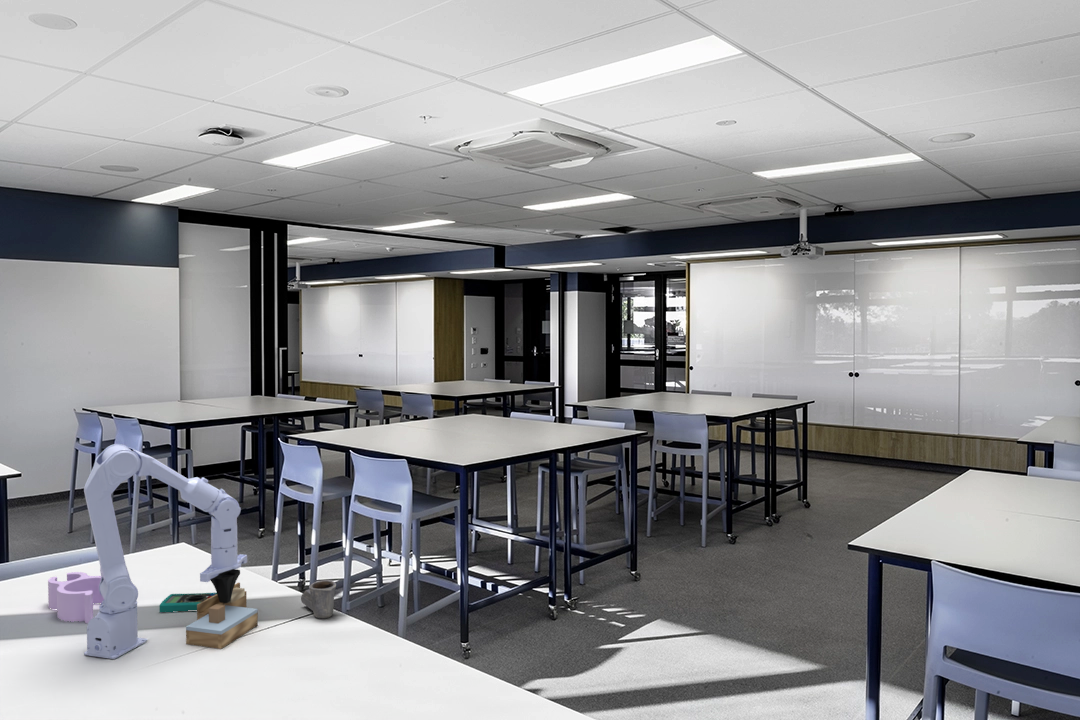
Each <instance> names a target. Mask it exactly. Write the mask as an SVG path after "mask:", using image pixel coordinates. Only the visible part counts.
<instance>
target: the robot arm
mask: <svg viewBox="0 0 1080 720" xmlns="http://www.w3.org/2000/svg"><path fill="white" fill-rule="evenodd" d="M134 475H136V477H147V476H151V477H153V478H154V479H156V480H159V481H161V482H162V483H163V484H166V485H167V486H170V487H172V488H174V489H175V490H178V491H179V493H180V498H181V500H183V501H185V502H187V503H189V504H191V506H194V507H196V508H197V509H199V510H201V511H203V512H205V513H208V514H209V515H211V517H210V518H211V521H210V523H211V525H210V554H211V555H210V560H211V563H210V564H209V566H208V567H206V568H205V570H204V571H202V572H200V573H199V582H201V583H209V582H211V583H212V585H213V587H214V590H215V591H216V592H215V593H217V595H218V598H219V602H220V603H228V602H230V600H231V596H232V592H233V588H234V585H235V584H237V581H238V579H239V577H240V574H241V570H240V568H242V564H243V565H244V564H246V563H248V555H247V554H241V553H240V554H238V523H237V522H238V519H237V518H238V517H239V516H240V514H241V510H242V509H241V508H242V507H240V504H239V502H238V500H237V499H236V498H234V497H232V496H231V495H229V494H228V493H227V492H226V490H224V489H223V488H220V489H218V488H217V487H216V486H213V485H212V484H210V483H209V479H207V478H205V477H201V478H200V477H198V476H196V477H191V478H187V477H185V476H184V475H182V474H181V473H179V472H177V471H176V470H174V469H173V468H171V467H169V466H168V465H166V464H164V463H163V462H161V461H159V460H158V459H157V458H155V457H153V456H150V455H149V454H146V453H143V452H142V451H139V450H136V449H132V450H131V448H130V447H128V446H127V445H125V444H121V443H115V444H111V445H109V446H107V447H106V448H104V450H102V451H101V452H100V453H99V455H97V456H96V458H95V460H94V463H93V466H92V468H91V471H90V473H89V475H88V478H87V479H86V482H85V484H84V486H83V492H84V498H85V502H86V507H87V511H88V516H89V519H90V524H91V525H90V526H91V529H92V535H93V539H94V542H95V548H96V553H97V557H98V558H97V559H98V562H99V568H100V569H99V572H100V576H101V581H100V584H99V592H100V594H101V595H102V596H103V598H104V600H103V601H102V603H101V604H99V607H98V611H97V614H96V615H95V616H93V618H92V619H91V620H90V621H89V623H87V626H86V651H84V652H83V655H84V656H90V657H97V658H102V659H103V658H104V659H112V660H115V659H118V658H119V657H122V656H123V655H125V654H126V653H128V652H130V651H132V650H134V649H135V648H137V647H140V646H141V645H143V644H145V643H146V642H147V641H148V638H144V637H139V636H138V635H139V633H138V631H139V629H138V597H139V591H138V588H137V586H136V585H135V584H134V583H133V582H132V579H131V576H130V573H129V570H128V567H127V564H126V559H125V555H124V550H123V545H122V541H121V537H120V531H119V526H118V521H117V517H116V513H115V507H114V502H113V498H112V494H113V493H114V492H115V490H116V489H118V487H119V486H120V485H121V484H122V483H123V482H125V481H126V480H128V479H129V478H131V477H132V476H134Z"/></svg>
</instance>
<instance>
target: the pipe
mask: <svg viewBox="0 0 1080 720" xmlns="http://www.w3.org/2000/svg"><path fill="white" fill-rule="evenodd" d="M336 587H337V583H336V582H335V581H333V580H331V579H324V580H318V581H314V582H313V583H311V584H310V585H308V589H305V590H304V592H303V593H302V594H301V596H300V600H301V604H303V605H305V606H306V607H307V608H309V609H310V610H311V611H313V616H314V617H315V618H316V619H317V618H318V619H328V618H330V617H332V616H333V614H334V605H335V594H336Z"/></svg>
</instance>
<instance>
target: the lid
mask: <svg viewBox="0 0 1080 720" xmlns="http://www.w3.org/2000/svg"><path fill="white" fill-rule="evenodd" d="M257 612H258V608H252V607H247V608H246V607H237V606H229V605H217V604H216V605H214V606H212V607H210V608H209V614H207V615H206V616H204V617H202V618H200V619H198V620H197V619H196V620H195V621H193V622H191V623H190V624H189V625H186V626H185V631H186V630H189V631H197V632H205V633H213V634H220V635H221V634H223V633H225V632H226V631H228V630H230V629H231V628H233V627H234V626H236V625H238V624H239V623H241V622H243V621H244V620H246V619H247V618H249V617H251V616H252V615H254V614H255V613H257Z"/></svg>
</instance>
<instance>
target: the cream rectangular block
mask: <svg viewBox="0 0 1080 720" xmlns="http://www.w3.org/2000/svg"><path fill="white" fill-rule="evenodd" d="M245 591H246V590H245V588H244V587H240V588H234V589H233V592H232V596H231V600H230V602H228V603H232V602H234V601H236V600H238V599H240V598H241V597H243V596H245Z"/></svg>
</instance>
